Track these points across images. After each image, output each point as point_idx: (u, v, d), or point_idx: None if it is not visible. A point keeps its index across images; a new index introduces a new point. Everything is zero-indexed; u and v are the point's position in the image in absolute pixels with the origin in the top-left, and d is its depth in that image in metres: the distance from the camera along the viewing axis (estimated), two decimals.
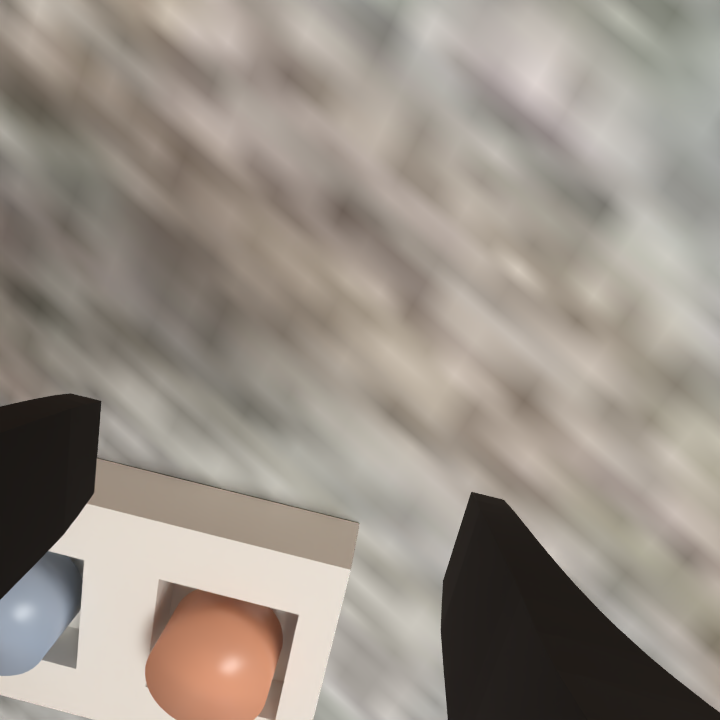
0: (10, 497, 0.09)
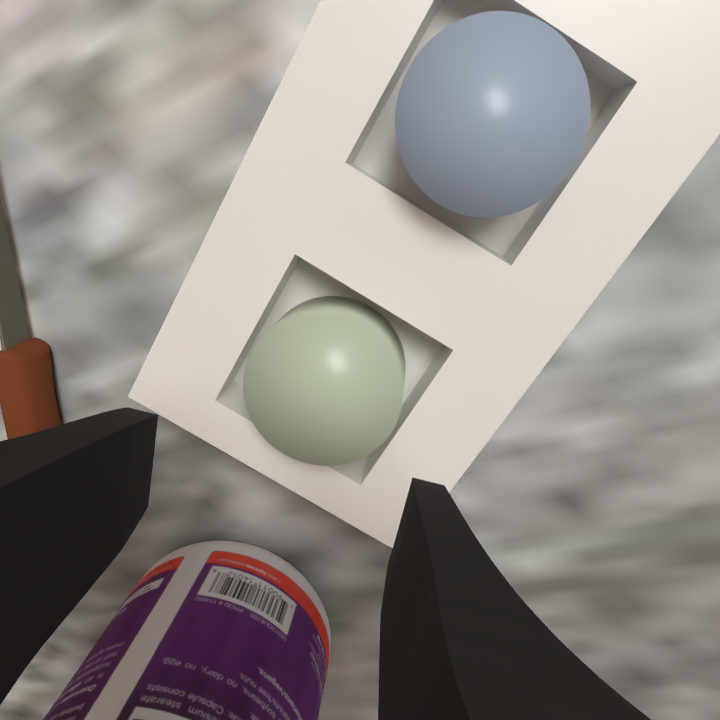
0: (79, 514, 0.09)
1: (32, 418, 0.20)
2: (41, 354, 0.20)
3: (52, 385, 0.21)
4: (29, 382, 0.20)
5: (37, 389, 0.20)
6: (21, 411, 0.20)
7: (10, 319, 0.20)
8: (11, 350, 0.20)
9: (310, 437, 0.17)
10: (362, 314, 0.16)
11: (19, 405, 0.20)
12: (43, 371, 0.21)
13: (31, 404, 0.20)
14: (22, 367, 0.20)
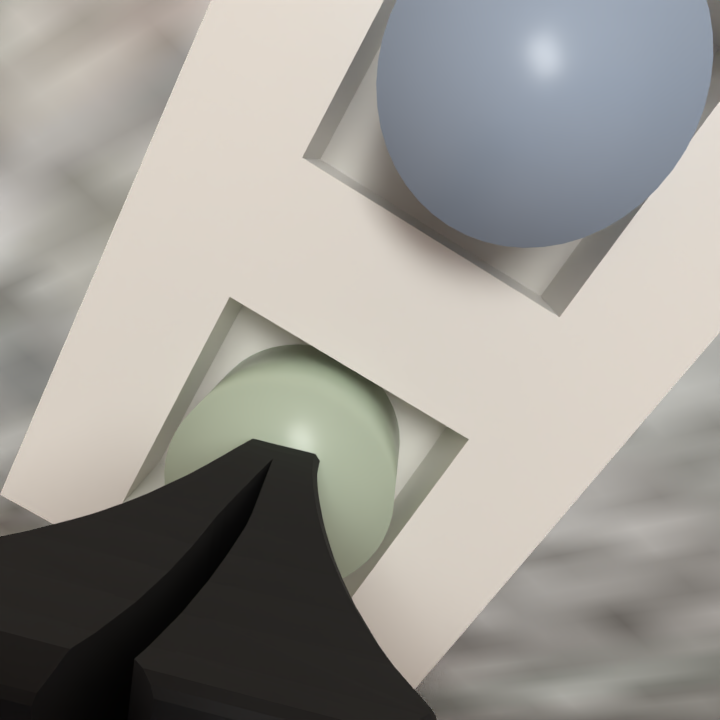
0: None
1: None
2: None
3: None
4: None
5: None
6: None
7: None
8: None
9: None
10: (337, 376, 0.11)
11: None
12: None
13: None
14: None
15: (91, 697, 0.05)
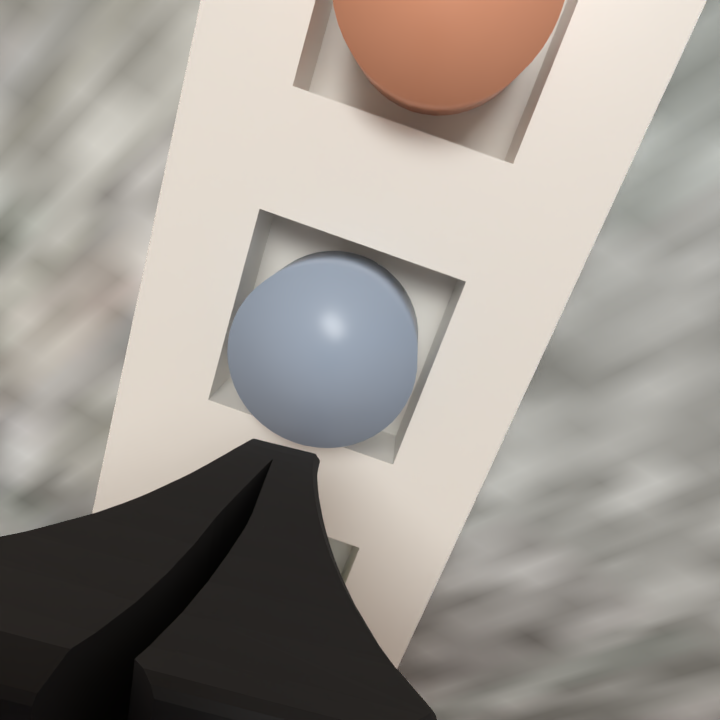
0: None
1: None
2: None
3: None
4: None
5: None
6: None
7: None
8: None
9: None
10: None
11: None
12: None
13: None
14: None
15: (91, 697, 0.05)
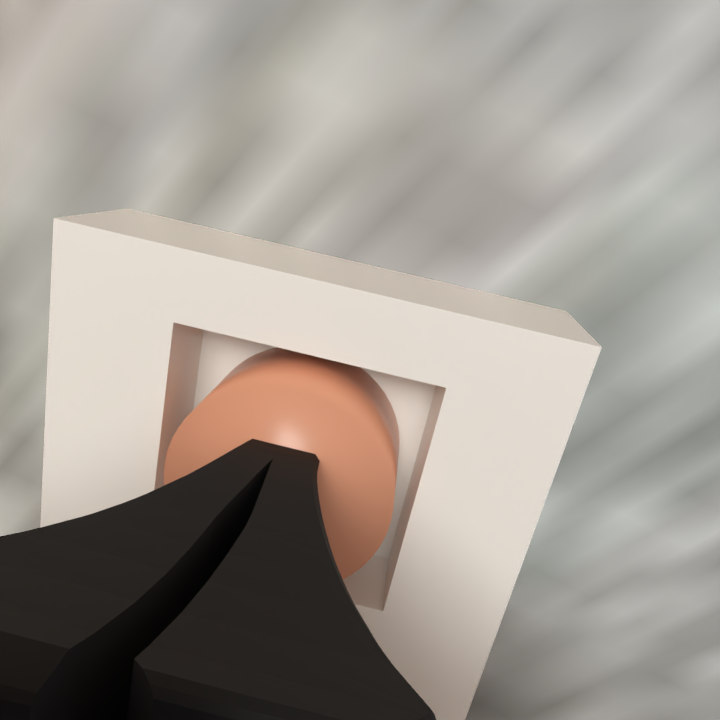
0: None
1: None
2: None
3: None
4: None
5: None
6: None
7: None
8: None
9: None
10: None
11: None
12: None
13: None
14: None
15: (91, 697, 0.05)
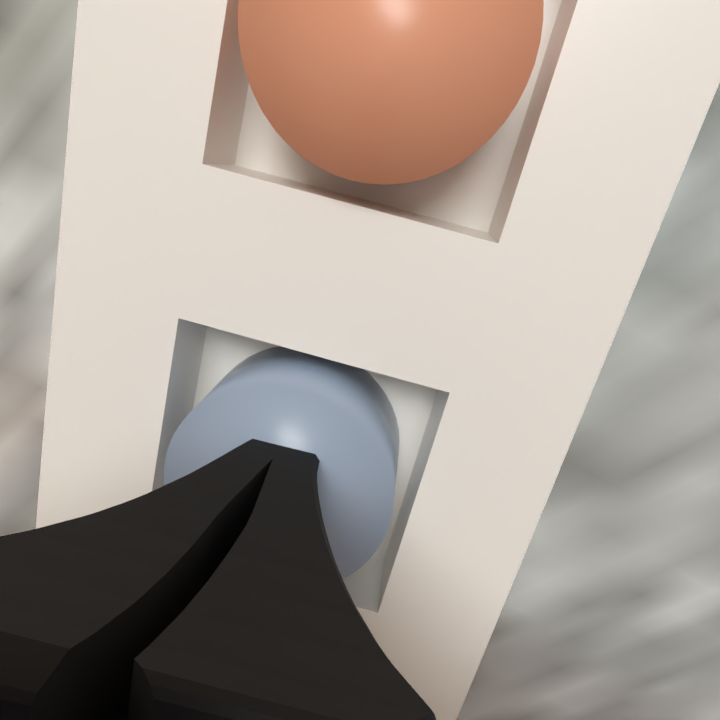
0: None
1: None
2: None
3: None
4: None
5: None
6: None
7: None
8: None
9: None
10: None
11: None
12: None
13: None
14: None
15: (91, 697, 0.05)
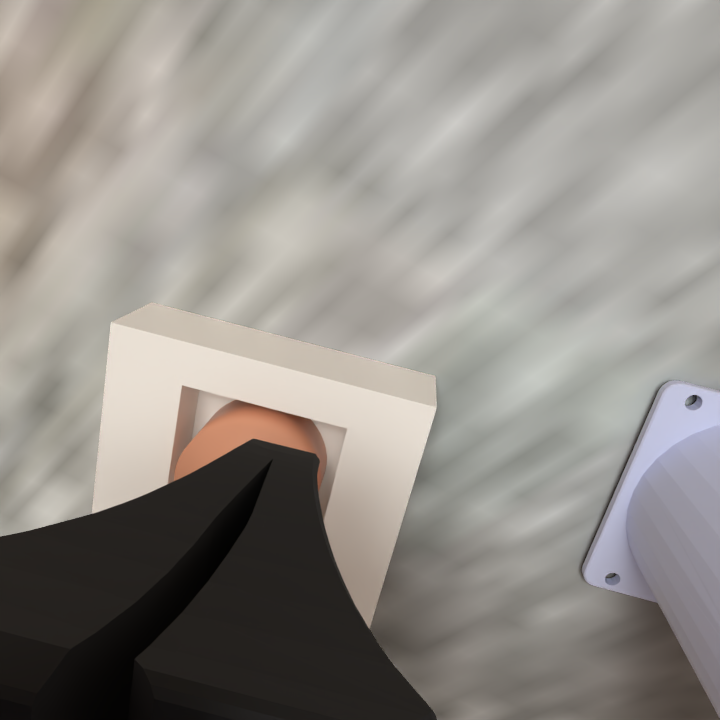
0: None
1: None
2: None
3: None
4: None
5: None
6: None
7: None
8: None
9: None
10: None
11: None
12: None
13: None
14: None
15: (91, 697, 0.05)
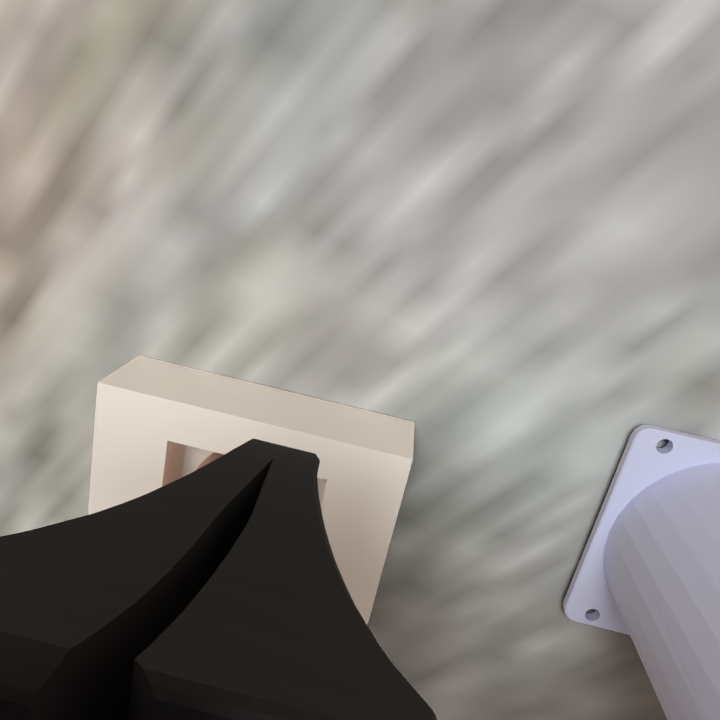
0: None
1: None
2: None
3: None
4: None
5: None
6: None
7: None
8: None
9: None
10: None
11: None
12: None
13: None
14: None
15: (91, 697, 0.05)
